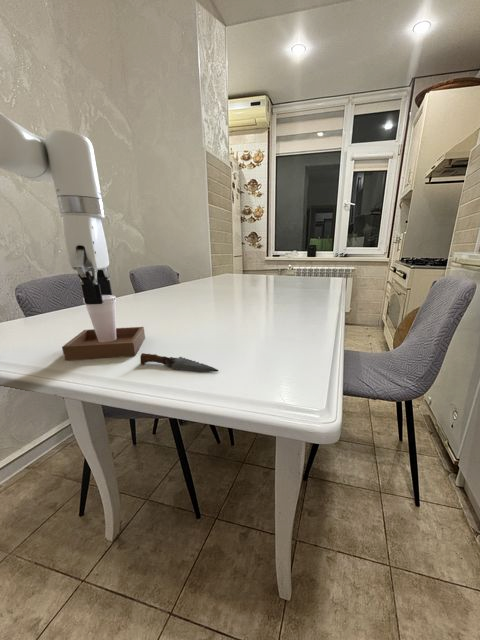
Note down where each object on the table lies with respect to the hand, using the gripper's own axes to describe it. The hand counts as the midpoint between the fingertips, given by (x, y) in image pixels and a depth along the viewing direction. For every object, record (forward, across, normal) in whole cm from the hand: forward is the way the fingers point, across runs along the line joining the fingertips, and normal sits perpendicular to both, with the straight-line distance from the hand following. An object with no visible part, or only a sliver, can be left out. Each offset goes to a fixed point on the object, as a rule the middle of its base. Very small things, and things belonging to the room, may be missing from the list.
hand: (99, 300), depth 63 cm
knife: (+11, +14, +16) cm, 25 cm away
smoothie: (+9, 0, 0) cm, 9 cm away
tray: (+11, 0, 0) cm, 11 cm away
